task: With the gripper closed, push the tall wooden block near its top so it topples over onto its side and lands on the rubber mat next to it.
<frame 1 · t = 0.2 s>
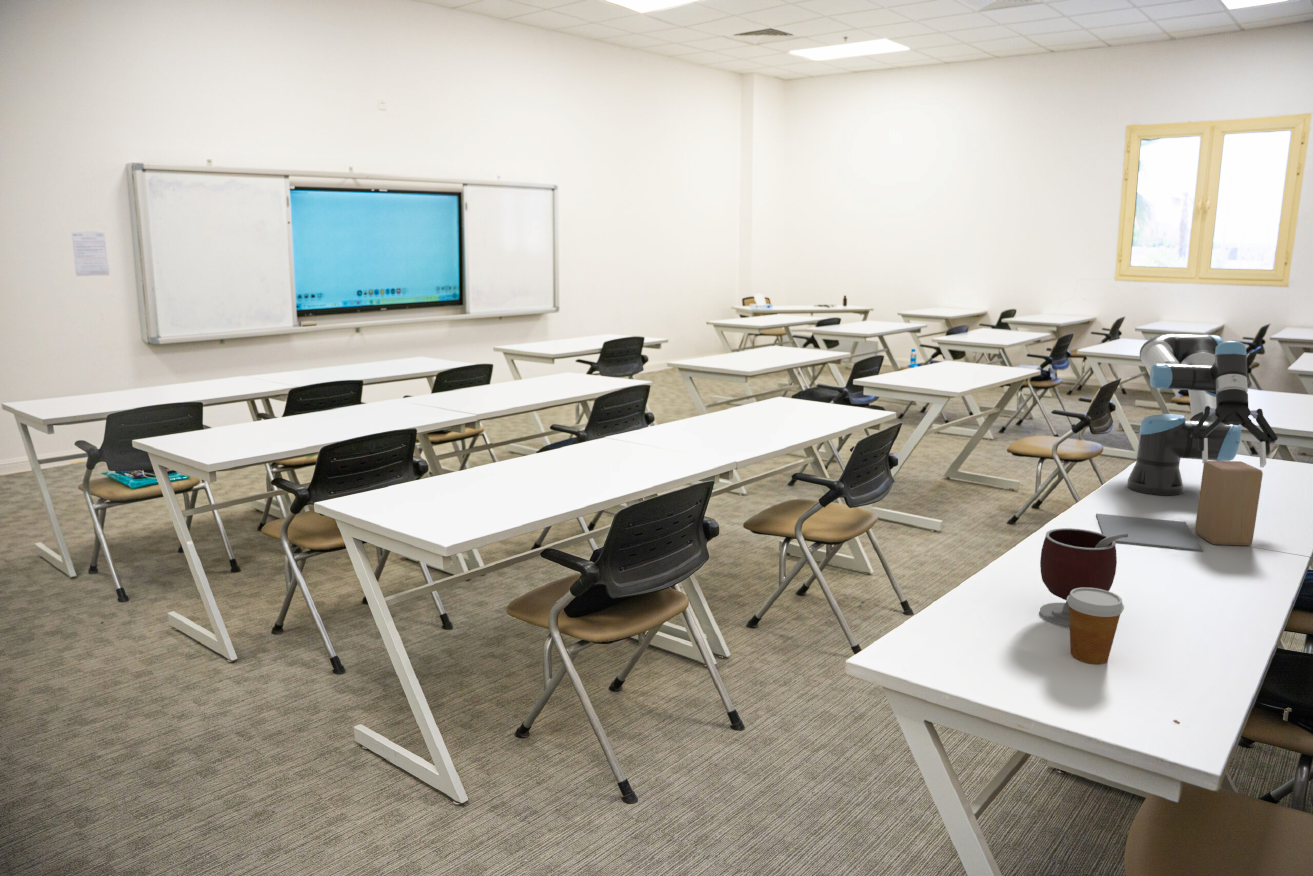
hand: (1233, 463, 241), 16 cm above the table, tool tilted 35°, fingers open, 13 cm apart
wooden block: (1222, 540, 229), on the table
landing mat: (1146, 532, 235), on the table
mate gourd: (1076, 619, 182), on the table
disposable coffee cup: (1089, 657, 165), on the table
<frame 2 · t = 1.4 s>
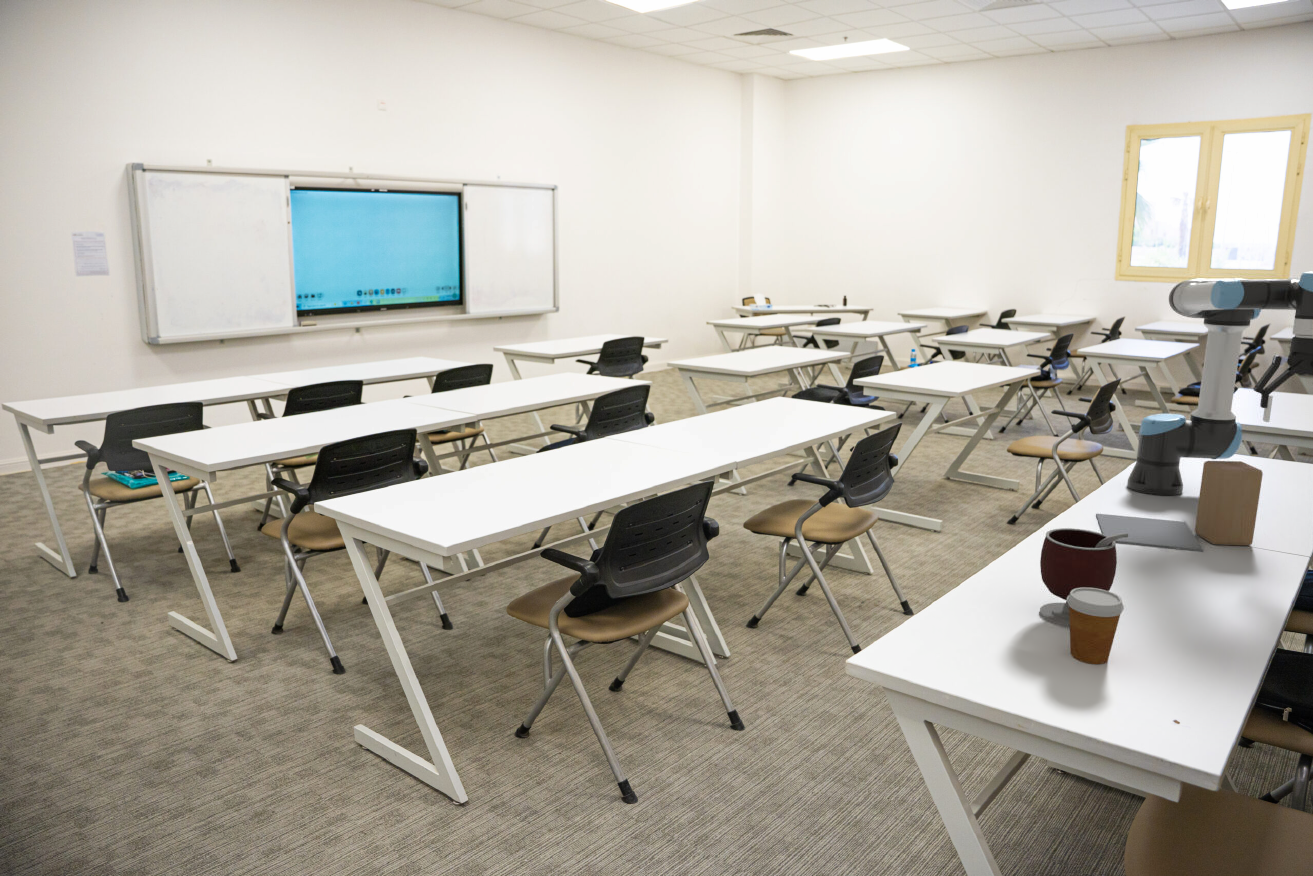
hand: (1298, 423, 219), 32 cm above the table, tool pointing down, fingers open, 13 cm apart
nothing on the table moved.
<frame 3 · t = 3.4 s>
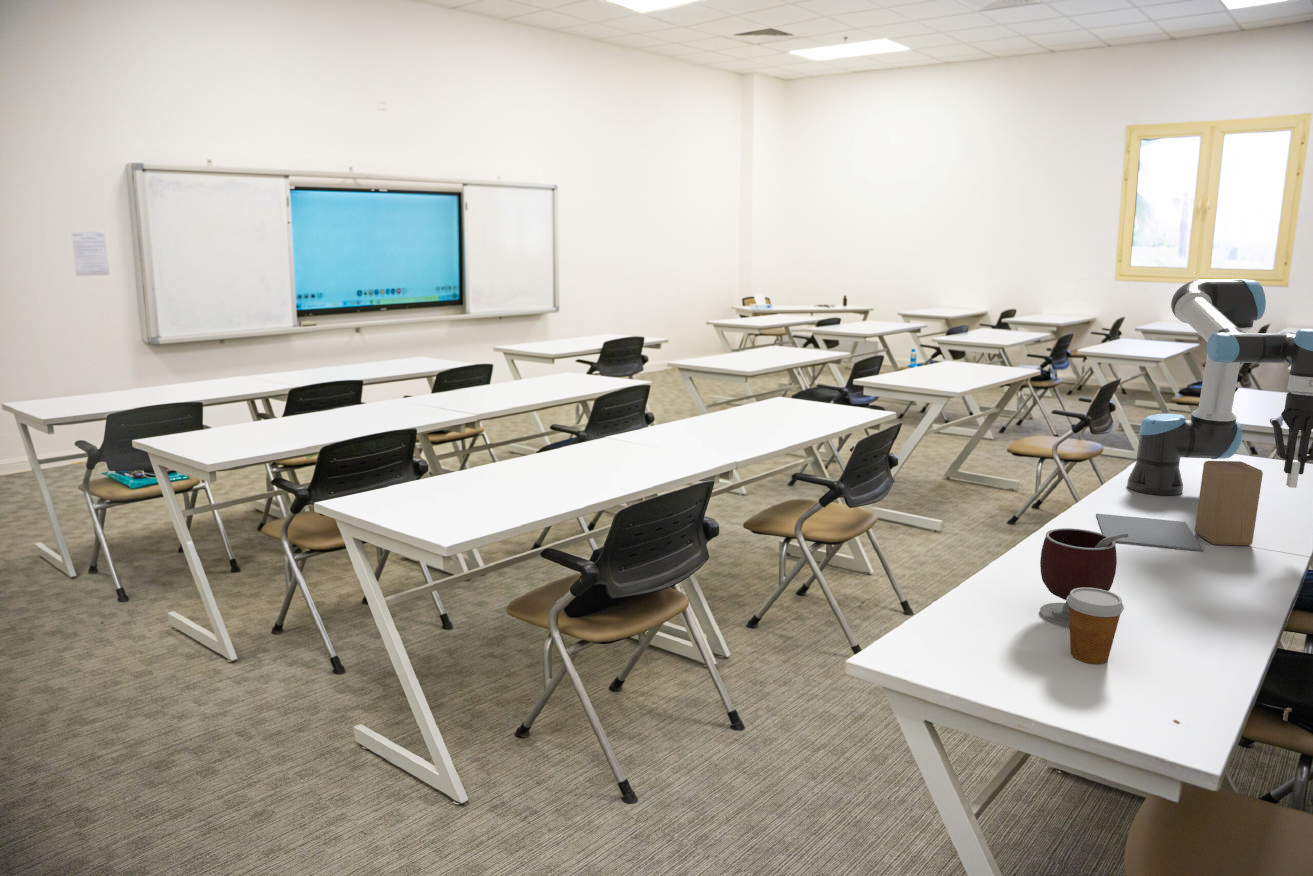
hand: (1291, 486, 221), 16 cm above the table, tool pointing down, fingers closed
nothing on the table moved.
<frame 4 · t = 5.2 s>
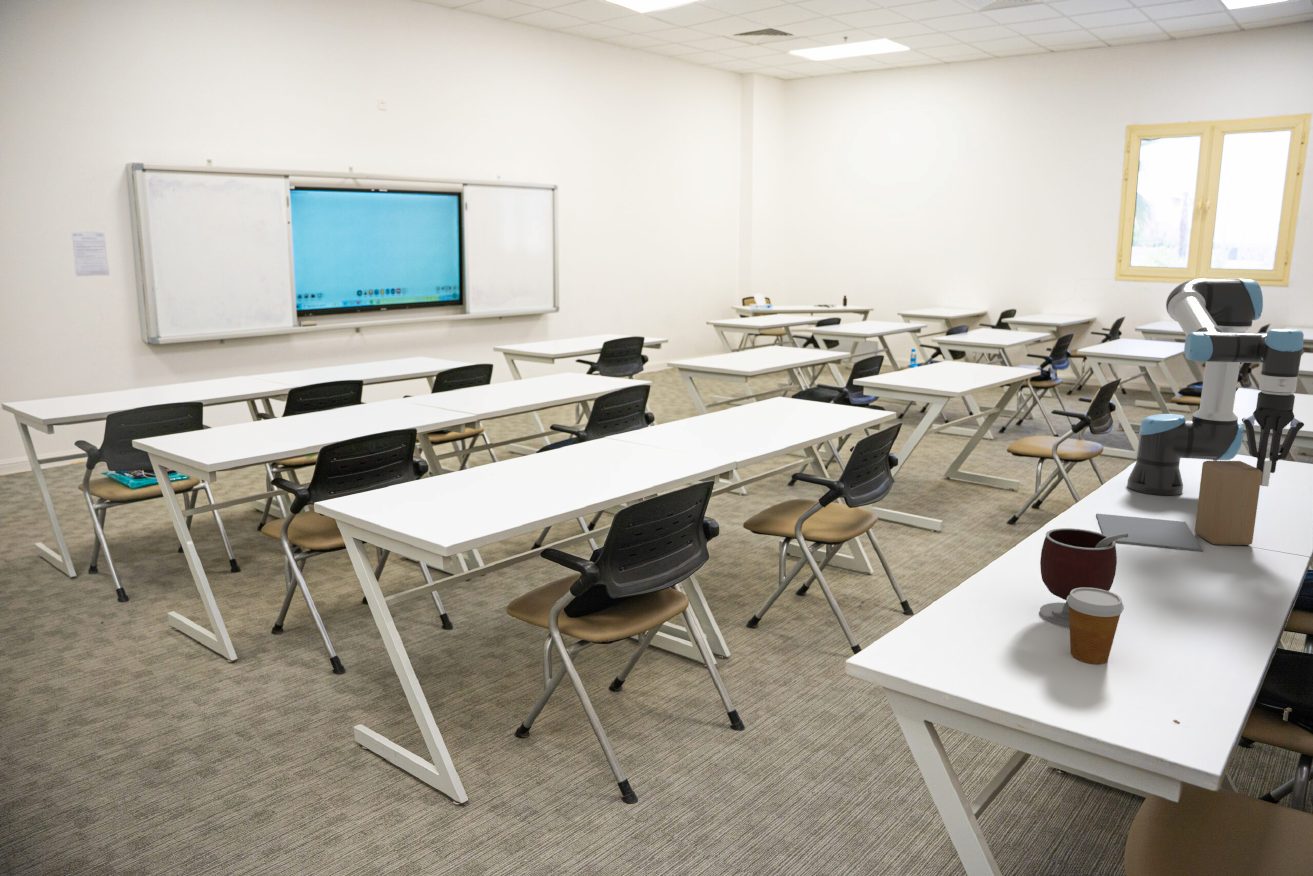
hand: (1263, 484, 223), 15 cm above the table, tool pointing down, fingers closed
wooden block: (1222, 540, 229), on the table, touching gripper
everything else where it was.
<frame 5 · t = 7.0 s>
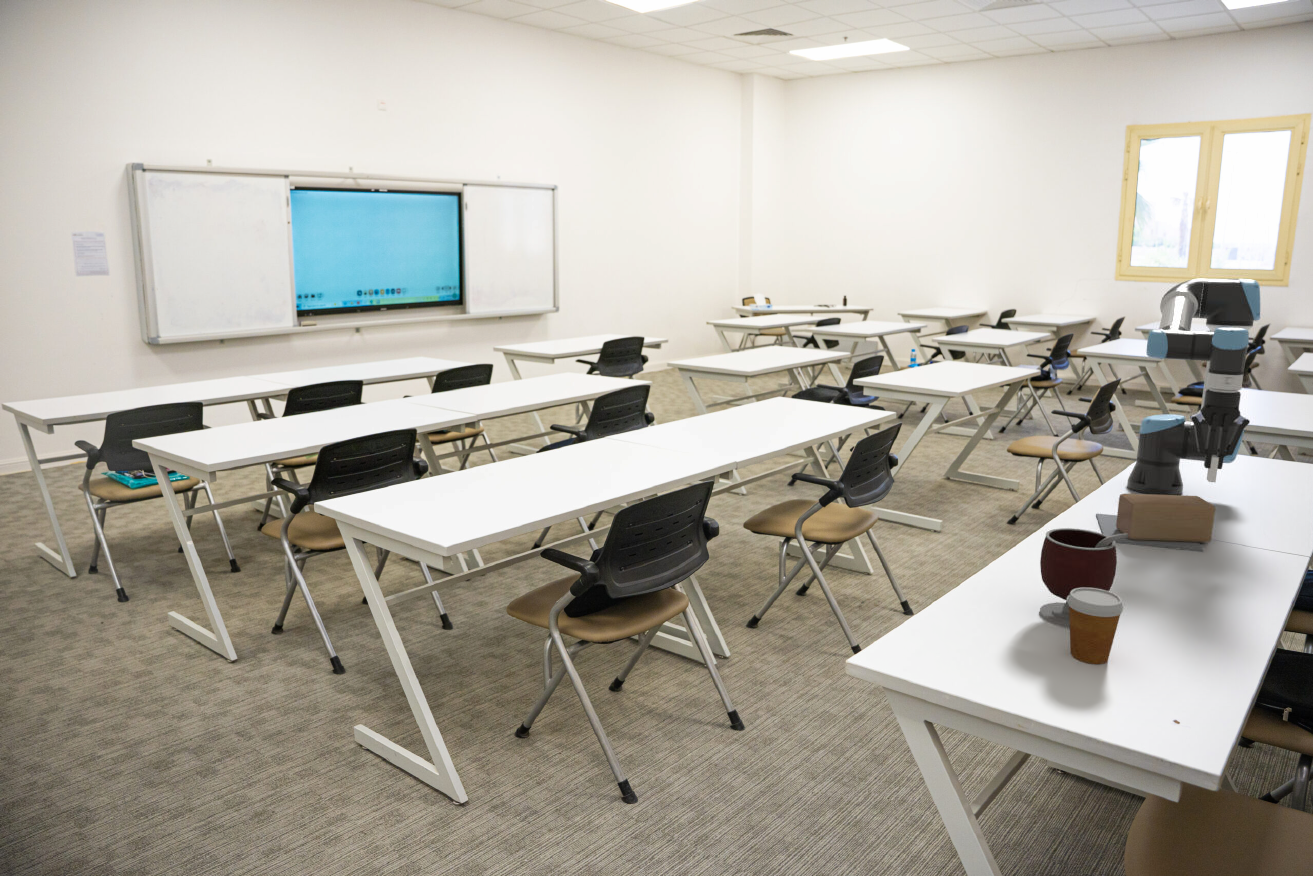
hand: (1211, 480, 227), 15 cm above the table, tool pointing down, fingers closed
wooden block: (1206, 519, 228), point 5 cm above the table, touching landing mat
everything else where it was.
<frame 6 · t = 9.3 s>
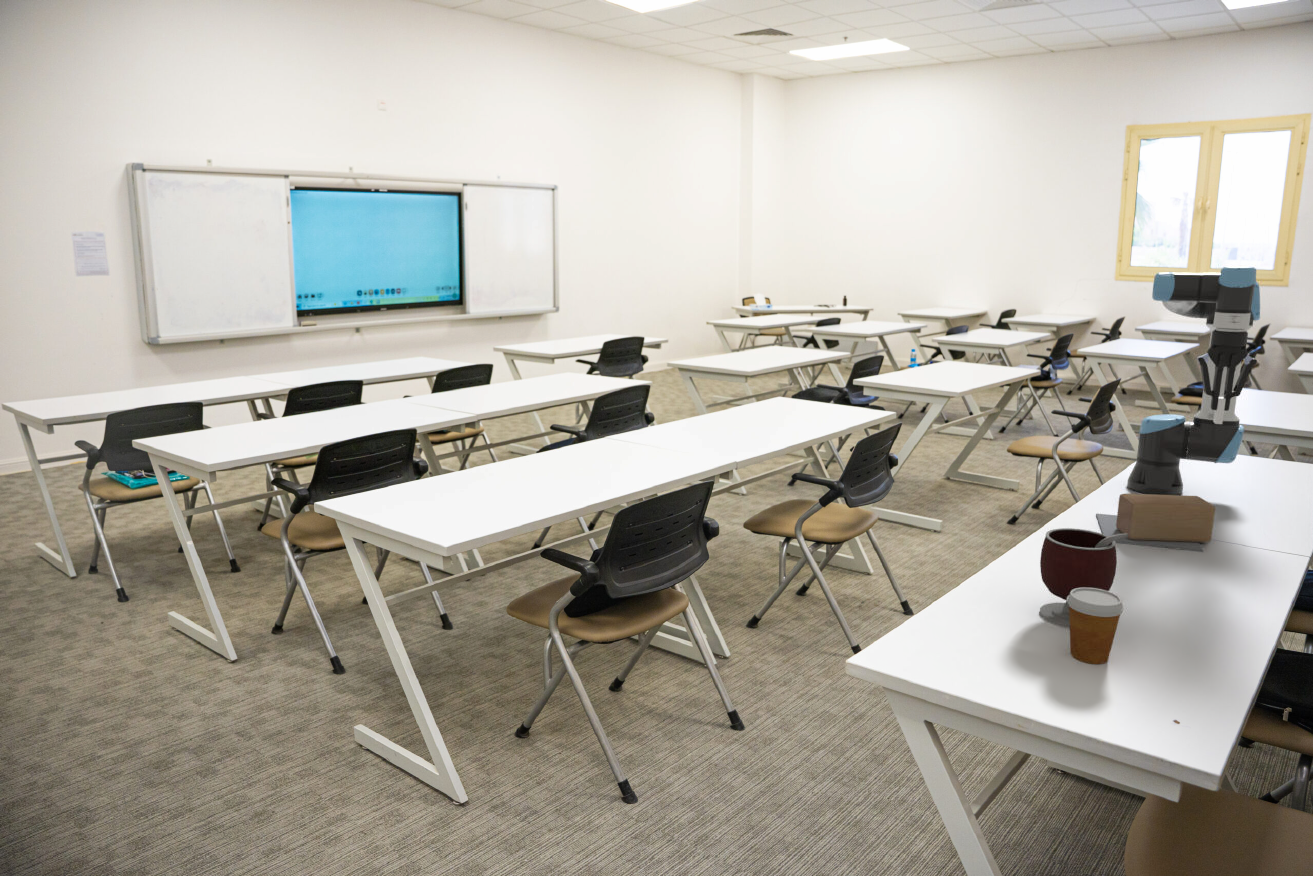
hand: (1217, 422, 225), 30 cm above the table, tool pointing down, fingers closed
nothing on the table moved.
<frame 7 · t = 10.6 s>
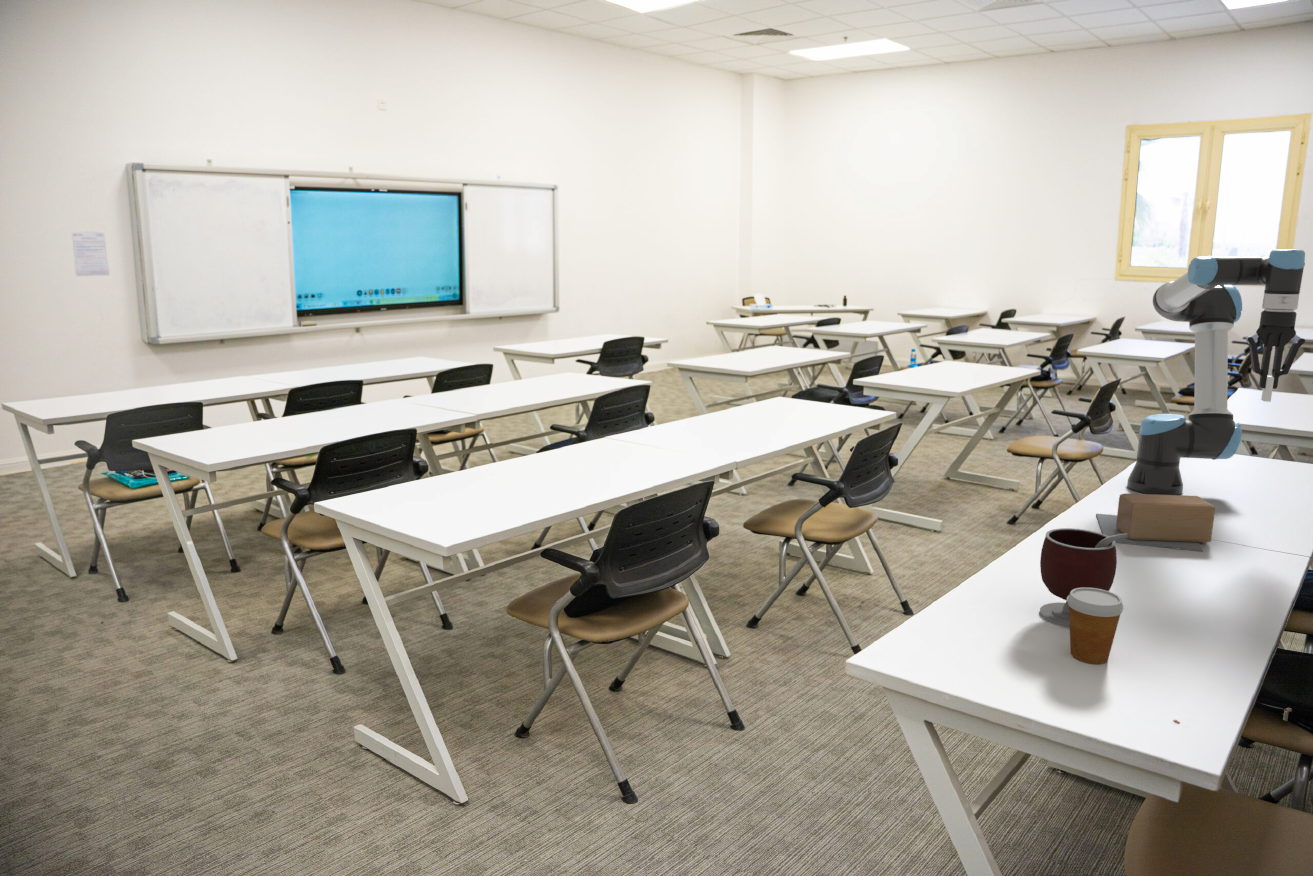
hand: (1265, 400, 233), 34 cm above the table, tool pointing down, fingers closed
nothing on the table moved.
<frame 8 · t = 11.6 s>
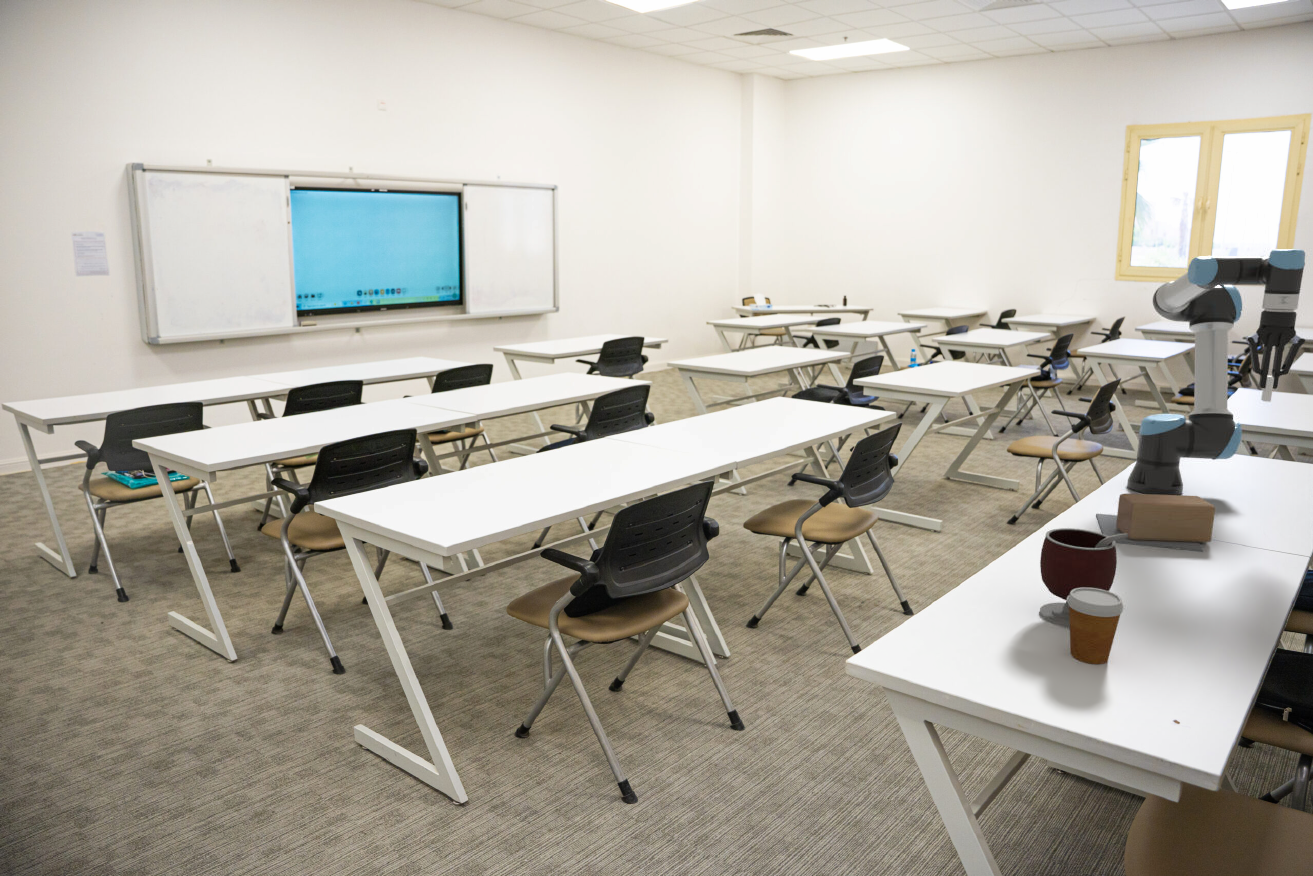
hand: (1265, 400, 233), 34 cm above the table, tool pointing down, fingers closed
nothing on the table moved.
at the end: wooden block tilted 90°; wooden block touching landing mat; the gripper is holding nothing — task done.
